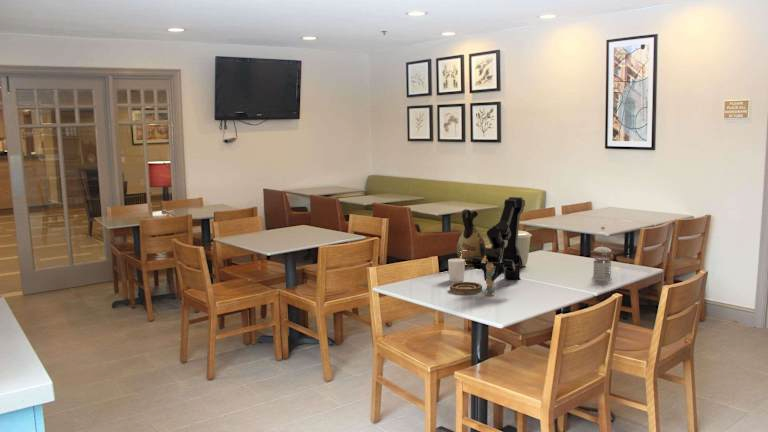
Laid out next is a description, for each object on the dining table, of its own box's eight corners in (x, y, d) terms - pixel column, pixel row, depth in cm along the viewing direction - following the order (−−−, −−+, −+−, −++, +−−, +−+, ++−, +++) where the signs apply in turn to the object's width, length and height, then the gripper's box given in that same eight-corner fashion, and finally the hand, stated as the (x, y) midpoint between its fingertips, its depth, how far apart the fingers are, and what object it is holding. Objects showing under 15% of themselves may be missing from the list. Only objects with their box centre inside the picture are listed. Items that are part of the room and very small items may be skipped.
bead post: (493, 293, 294) (493, 261, 292) (495, 295, 290) (495, 263, 288) (484, 293, 294) (484, 262, 292) (486, 296, 290) (486, 263, 288)
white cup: (464, 282, 316) (464, 261, 314) (447, 282, 317) (447, 261, 316) (465, 278, 323) (465, 258, 322) (449, 278, 325) (449, 258, 324)
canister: (494, 268, 346) (494, 228, 343) (498, 261, 363) (498, 223, 360) (530, 269, 340) (530, 228, 338) (532, 262, 358) (533, 223, 355)
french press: (589, 279, 316) (590, 227, 312) (593, 274, 326) (594, 224, 323) (610, 281, 311) (612, 228, 308) (615, 276, 321) (616, 225, 318)
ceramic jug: (466, 260, 368) (466, 206, 364) (491, 263, 358) (491, 208, 354) (449, 265, 355) (448, 209, 351) (474, 269, 345) (474, 211, 341)
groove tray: (478, 286, 308) (478, 281, 307) (485, 293, 293) (485, 288, 293) (447, 287, 307) (447, 282, 307) (452, 294, 293) (452, 289, 293)
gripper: (472, 239, 296) (463, 268, 288) (513, 241, 288) (505, 272, 280) (478, 253, 304) (470, 282, 296) (518, 256, 296) (511, 286, 288)
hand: (488, 280), depth 290 cm, fingers closed on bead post, 3 cm apart
